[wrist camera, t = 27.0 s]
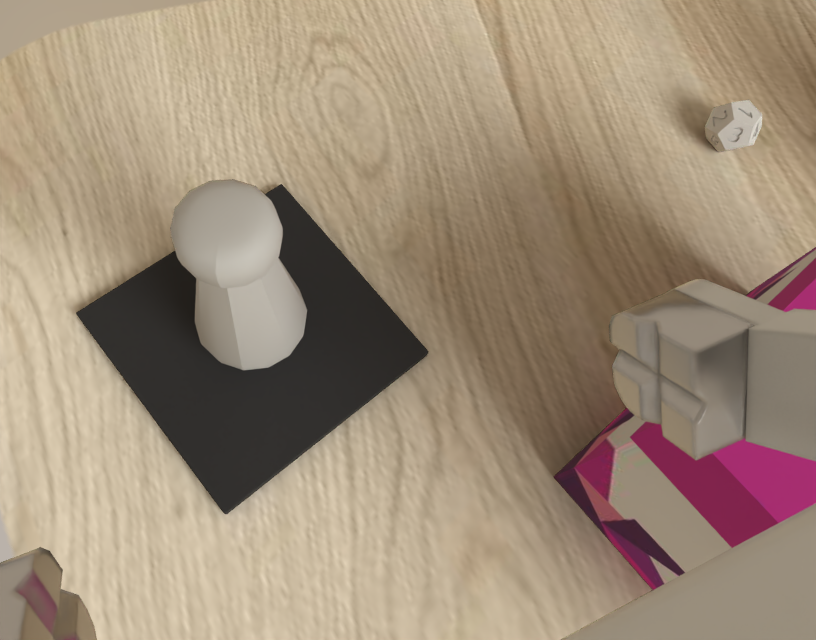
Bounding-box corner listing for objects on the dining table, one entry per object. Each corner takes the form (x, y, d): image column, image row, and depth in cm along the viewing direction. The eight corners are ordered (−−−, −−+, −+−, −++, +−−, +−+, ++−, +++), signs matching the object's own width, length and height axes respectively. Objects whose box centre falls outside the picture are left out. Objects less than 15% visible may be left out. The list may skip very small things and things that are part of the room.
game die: (710, 110, 48) (733, 81, 45) (754, 139, 47) (781, 112, 45) (687, 140, 47) (710, 112, 44) (732, 170, 46) (758, 144, 43)
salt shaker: (181, 330, 37) (110, 212, 25) (258, 266, 39) (227, 127, 27) (253, 402, 36) (216, 315, 24) (329, 332, 38) (329, 219, 26)
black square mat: (225, 514, 34) (224, 514, 34) (79, 316, 37) (75, 312, 37) (427, 354, 39) (429, 351, 38) (282, 188, 42) (281, 183, 41)
